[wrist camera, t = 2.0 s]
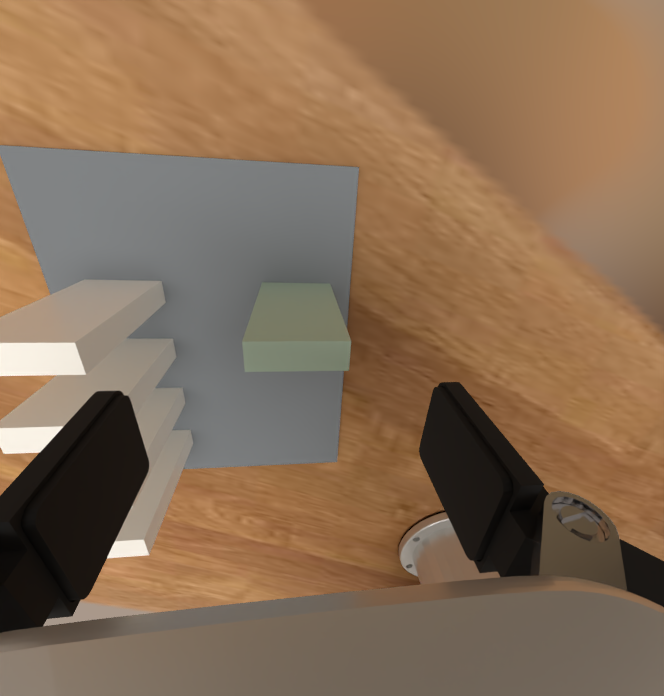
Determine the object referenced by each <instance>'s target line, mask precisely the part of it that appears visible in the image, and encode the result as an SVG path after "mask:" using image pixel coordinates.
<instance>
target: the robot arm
mask: <svg viewBox="0 0 664 696" xmlns="http://www.w3.org/2000/svg"><path fill="white" fill-rule="evenodd" d="M419 452H420V457H421V460H422V462H423V464H424V466H425V468H426V471H427V473H428V475H429V477H430V479H431V481H432V483H433V486H434V488H435V490H436V492H437V494H438V496H439V498H440V501H441V503H442V505H443V507H444V509H445V511H446V512H444V513H440V514H437V515H434V516H431V517H429V518H427V519H425V520H423V521H421V522H419V523H418V524H416V525H415V526H414V527H412V528H411V529H410V530H409V531H408V532H407V533H406V535H405V536H404V537H403V539H402V541H401V542H400V545H399V549H398V551H399V557H400V561H401V564H402V566H403V568H404V569H405V570H407V571H408V572H409V573H411V574H413V575H415V576H418V578H419V581H420V584H421V585H411V586H401V587H392V588H382V589H372V590H362V591H352V592H343V593H333V594H324V595H314V596H305V597H296V598H286V599H277V600H268V601H258V602H249V603H240V604H231V605H221V606H212V607H203V608H195V609H186V610H177V611H168V612H159V613H150V614H141V615H132V616H123V617H114V618H106V619H97V620H90V621H82V622H74V623H67V624H59V625H51V626H43V625H44V623H45V621H46V620H47V619H49V618H60V617H69V616H73V614H74V612H75V610H76V608H77V606H78V604H79V602H80V600H81V599H85V598H86V597H87V596H88V595H89V593H90V591H91V590H92V588H93V586H94V583H95V581H96V579H97V577H98V575H99V573H100V571H101V569H102V567H103V565H104V563H105V561H106V559H107V557H108V555H109V552H110V550H111V548H112V546H113V544H114V542H115V540H116V538H117V536H118V534H119V532H120V530H121V528H122V526H123V523H124V521H125V519H126V517H127V515H128V513H129V511H130V509H131V507H132V505H133V503H134V501H135V499H136V497H137V495H138V492H139V490H140V488H141V486H142V484H143V482H144V480H145V478H146V476H147V474H148V471H149V459H148V456H147V453H146V449H145V446H144V443H143V439H142V436H141V433H140V429H139V426H138V423H137V420H136V416H135V413H134V410H133V406H132V403H131V400H130V398H129V396H127V395H124V394H123V393H122V392H121V391H97V392H95V393H94V394H93V395H92V396H91V397H90V398H89V399H88V400H87V401H86V403H85V404H84V405H83V406H82V407H81V408H80V409H79V410H78V411H77V412H76V414H75V415H74V416H73V417H72V418H71V419H70V420H69V421H68V422H67V423H66V424H65V426H64V427H63V428H62V429H61V430H60V431H59V432H58V433H57V434H56V435H55V437H54V438H53V439H52V440H51V441H50V442H49V443H48V444H47V445H46V446H45V447H44V449H43V450H42V451H41V452H40V453H39V454H38V455H37V456H36V457H35V458H34V460H33V461H32V462H31V463H30V464H29V465H28V466H27V467H26V468H25V469H24V470H23V472H22V473H21V474H20V475H19V476H18V477H17V478H16V479H15V480H14V481H13V483H12V484H11V485H10V486H9V487H8V488H7V489H6V490H5V491H4V492H3V493H2V495H1V496H0V696H664V561H662V560H660V559H658V558H656V557H654V556H652V555H650V554H648V553H646V552H644V551H642V550H640V549H638V548H637V547H635V546H633V545H631V544H629V543H627V542H625V541H623V540H621V539H619V535H618V532H617V529H616V527H615V525H614V524H613V522H612V521H611V520H610V518H609V517H608V516H607V515H606V514H605V513H604V512H603V511H602V510H601V509H599V508H598V507H597V506H595V505H594V504H592V503H591V502H590V501H588V500H586V499H584V498H582V497H580V496H578V495H575V494H572V493H569V492H561V491H557V492H551V493H550V494H549V493H548V492H547V491H546V490H545V488H544V487H543V485H544V484H543V483H542V481H541V480H540V479H539V478H538V476H537V475H536V474H535V473H534V472H533V470H532V469H531V468H530V467H529V466H528V464H527V463H526V462H525V461H524V460H523V458H522V457H521V456H520V455H519V454H518V452H517V451H516V450H515V449H514V448H513V446H512V445H511V444H510V443H509V441H508V440H507V439H506V438H505V437H504V435H503V434H502V433H501V432H500V431H499V429H498V428H497V427H496V426H495V425H494V423H493V422H492V421H491V420H490V419H489V417H488V416H487V415H486V414H485V413H484V411H483V410H482V409H481V408H480V406H479V405H478V404H477V403H476V402H475V400H474V399H473V398H472V397H471V396H470V394H469V393H468V392H467V391H466V390H465V388H464V387H463V386H462V385H461V384H460V383H459V382H442V383H440V384H439V385H438V387H435V388H434V390H433V393H432V397H431V401H430V406H429V410H428V414H427V418H426V422H425V426H424V430H423V435H422V439H421V443H420V448H419Z"/></svg>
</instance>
